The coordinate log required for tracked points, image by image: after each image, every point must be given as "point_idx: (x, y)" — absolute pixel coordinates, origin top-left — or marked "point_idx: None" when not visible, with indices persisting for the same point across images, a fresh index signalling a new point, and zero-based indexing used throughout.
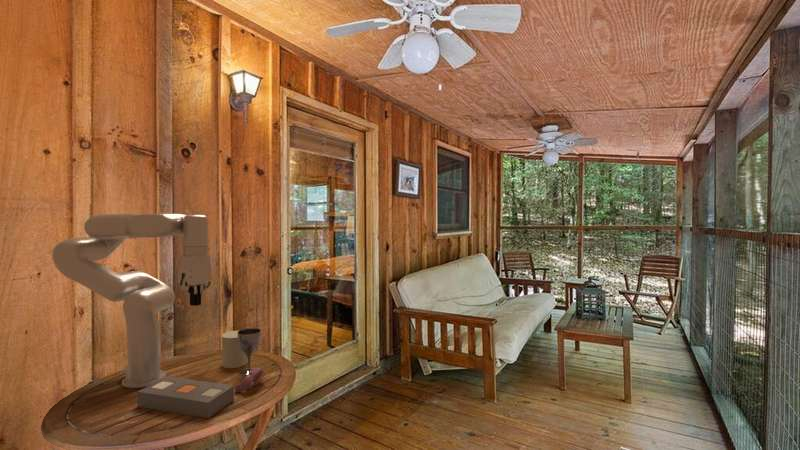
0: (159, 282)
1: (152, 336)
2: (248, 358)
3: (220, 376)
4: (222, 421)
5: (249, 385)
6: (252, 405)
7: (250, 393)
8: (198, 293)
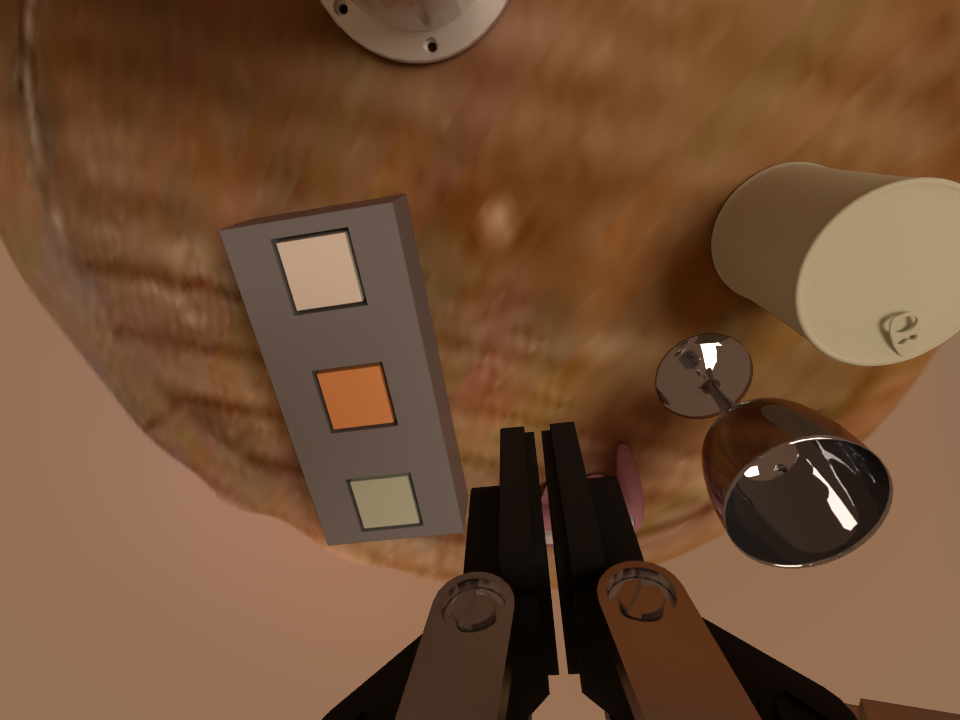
0: None
1: None
2: (721, 412)
3: (614, 295)
4: (354, 552)
5: None
6: None
7: None
8: (578, 669)
